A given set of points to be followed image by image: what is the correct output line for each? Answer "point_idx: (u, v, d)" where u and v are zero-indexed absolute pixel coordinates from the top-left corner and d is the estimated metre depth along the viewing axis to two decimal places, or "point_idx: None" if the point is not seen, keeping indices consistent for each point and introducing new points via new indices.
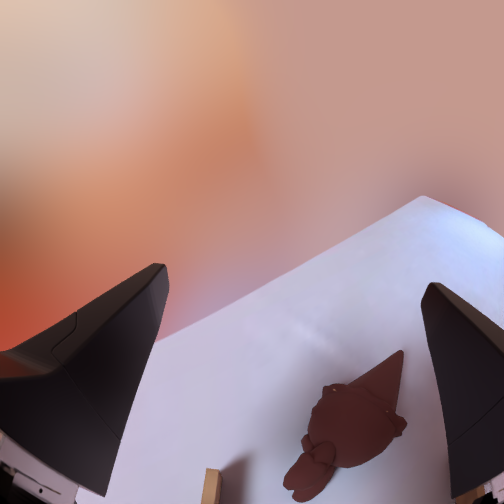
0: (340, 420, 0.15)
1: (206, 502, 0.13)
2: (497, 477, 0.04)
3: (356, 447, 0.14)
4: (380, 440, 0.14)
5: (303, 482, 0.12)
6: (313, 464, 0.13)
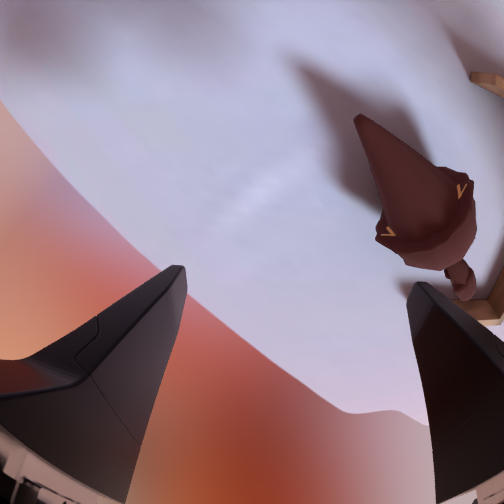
0: (447, 264, 0.14)
1: None
2: (482, 484, 0.04)
3: (469, 246, 0.14)
4: None
5: (474, 292, 0.16)
6: (467, 286, 0.15)
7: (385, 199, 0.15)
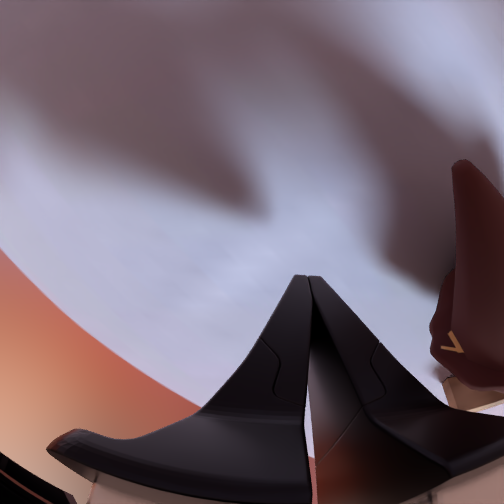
0: None
1: (480, 409, 0.13)
2: None
3: None
4: None
5: None
6: None
7: (468, 311, 0.07)
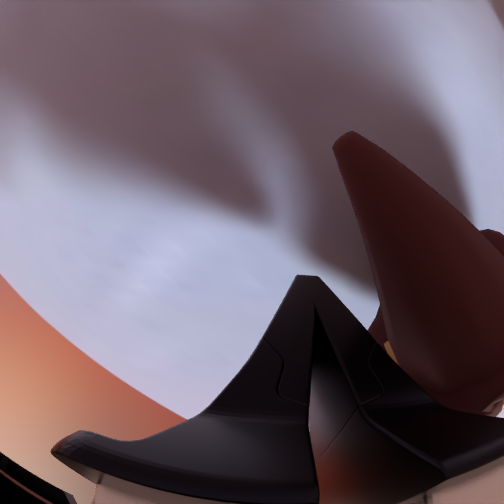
0: None
1: None
2: None
3: None
4: None
5: None
6: (492, 413, 0.08)
7: (390, 320, 0.07)
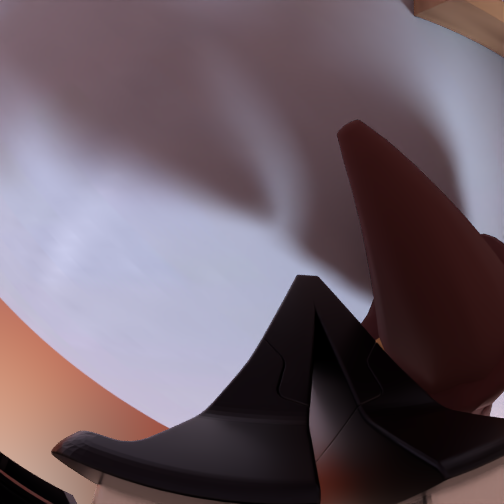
0: None
1: None
2: None
3: None
4: None
5: None
6: None
7: (384, 314, 0.07)
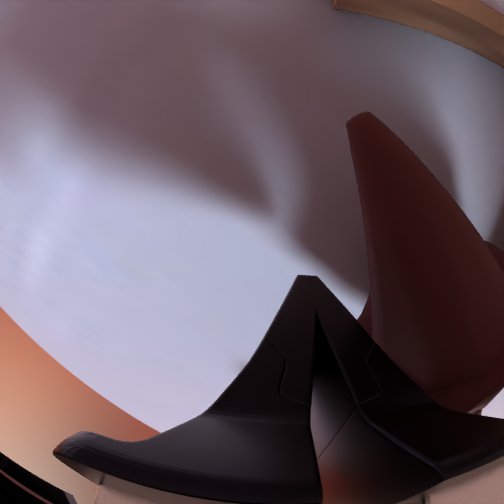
0: None
1: None
2: None
3: None
4: None
5: None
6: None
7: (381, 310, 0.07)
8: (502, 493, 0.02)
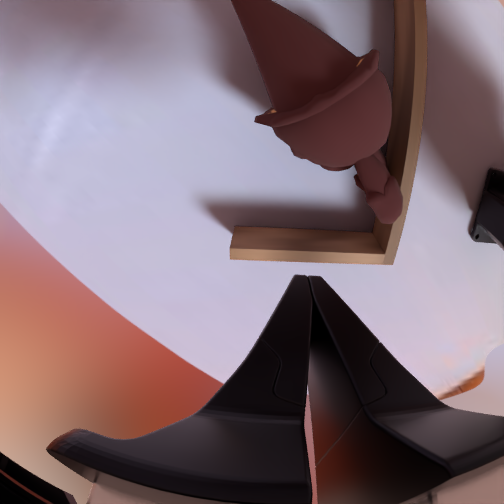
0: (346, 146, 0.12)
1: (271, 256, 0.18)
2: None
3: (383, 135, 0.12)
4: (388, 102, 0.11)
5: (399, 211, 0.14)
6: (387, 196, 0.13)
7: (259, 64, 0.12)
8: None
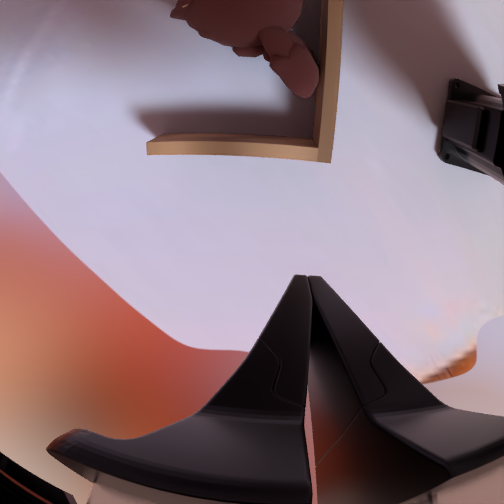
0: (239, 10, 0.10)
1: (187, 149, 0.16)
2: None
3: (285, 4, 0.10)
4: None
5: (312, 78, 0.11)
6: (292, 59, 0.11)
7: None
8: None
